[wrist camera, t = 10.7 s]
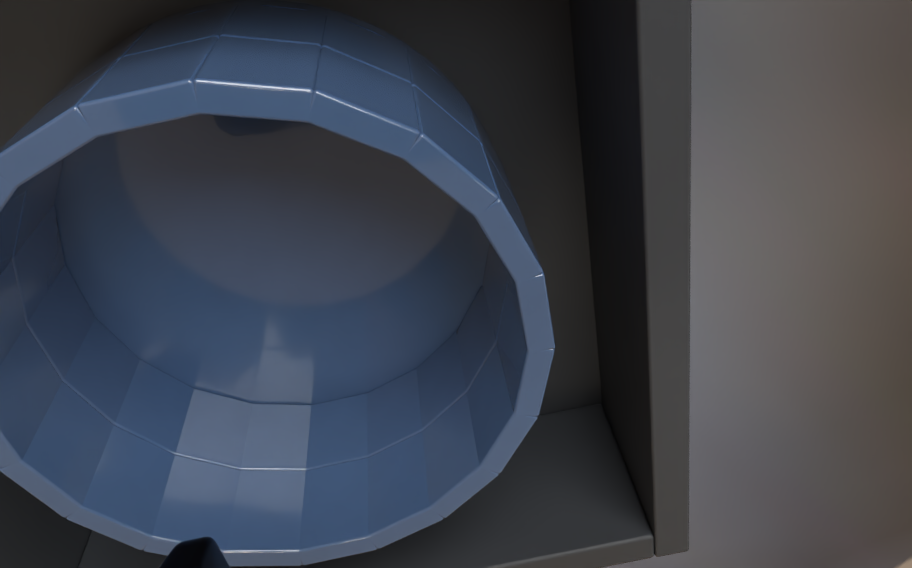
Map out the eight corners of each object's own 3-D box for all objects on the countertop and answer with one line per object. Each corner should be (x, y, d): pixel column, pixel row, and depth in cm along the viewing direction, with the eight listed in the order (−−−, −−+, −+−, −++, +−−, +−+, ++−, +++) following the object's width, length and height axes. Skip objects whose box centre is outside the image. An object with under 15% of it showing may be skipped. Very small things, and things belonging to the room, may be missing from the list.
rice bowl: (462, -55, 14) (505, 8, 10) (533, 355, 19) (580, 508, 15) (-57, 62, 14) (-234, 174, 10) (158, 436, 20) (102, 609, 15)
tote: (587, -263, 13) (694, -291, 9) (626, 404, 21) (689, 552, 17) (-302, -81, 13) (-619, -22, 9) (90, 511, 22) (25, 682, 17)
